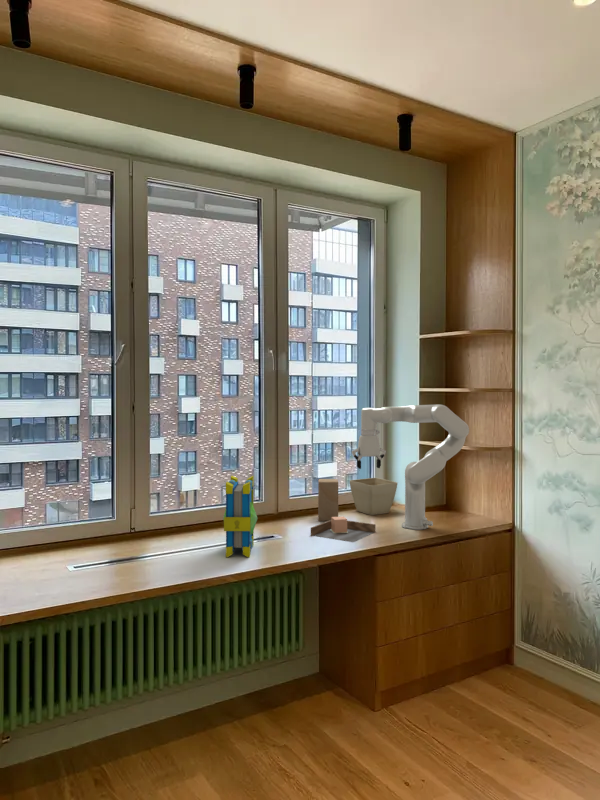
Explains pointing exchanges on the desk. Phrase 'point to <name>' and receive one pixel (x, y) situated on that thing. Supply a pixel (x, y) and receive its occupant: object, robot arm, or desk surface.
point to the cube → (338, 524)
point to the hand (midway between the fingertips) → (368, 468)
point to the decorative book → (239, 516)
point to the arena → (352, 535)
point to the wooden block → (327, 499)
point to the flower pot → (373, 495)
